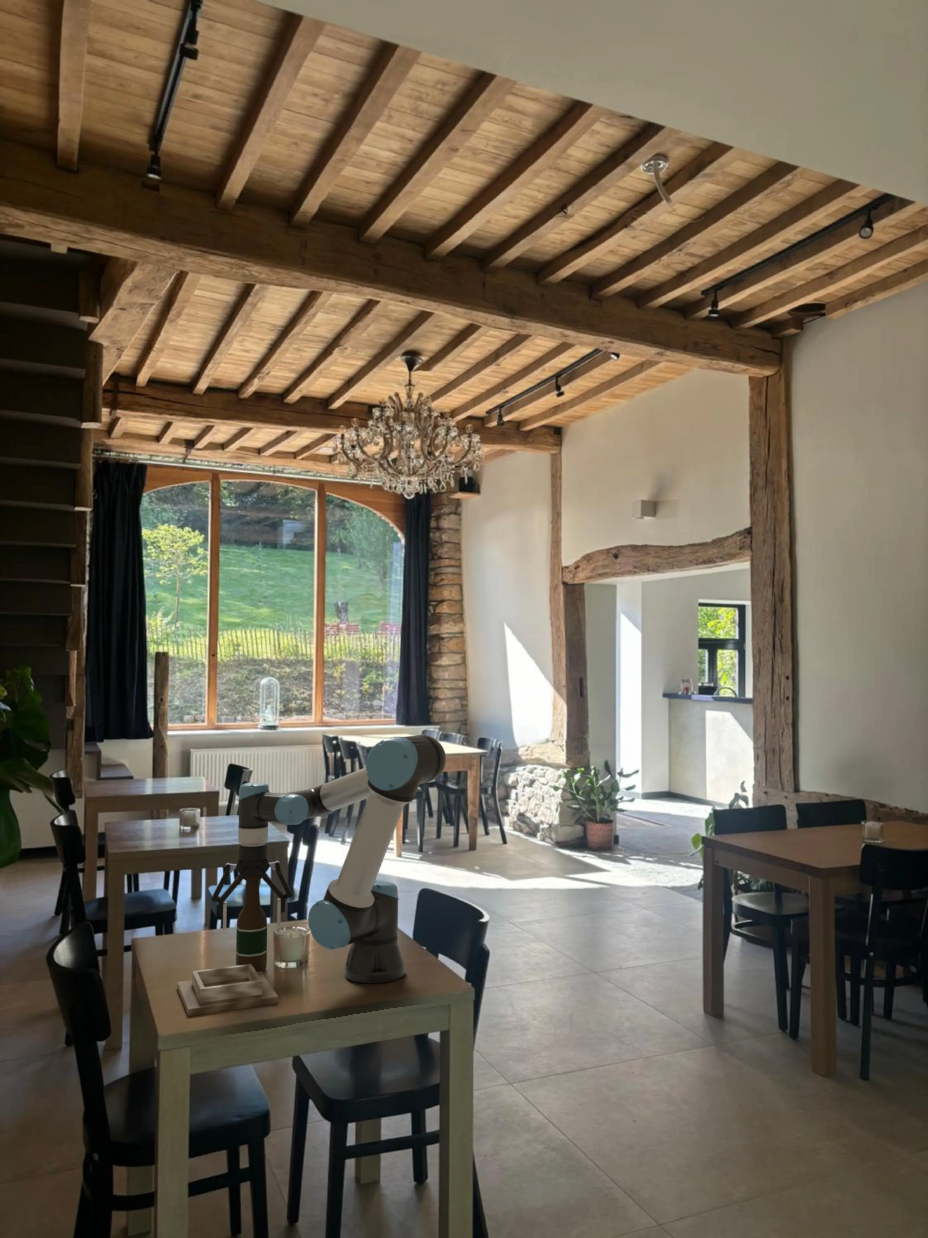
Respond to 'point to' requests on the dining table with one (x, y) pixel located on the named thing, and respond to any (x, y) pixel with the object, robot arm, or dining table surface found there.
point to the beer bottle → (252, 929)
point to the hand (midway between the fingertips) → (251, 927)
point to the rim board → (225, 990)
